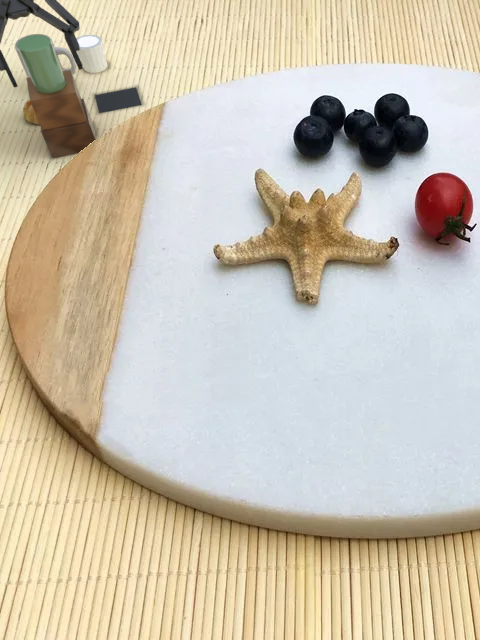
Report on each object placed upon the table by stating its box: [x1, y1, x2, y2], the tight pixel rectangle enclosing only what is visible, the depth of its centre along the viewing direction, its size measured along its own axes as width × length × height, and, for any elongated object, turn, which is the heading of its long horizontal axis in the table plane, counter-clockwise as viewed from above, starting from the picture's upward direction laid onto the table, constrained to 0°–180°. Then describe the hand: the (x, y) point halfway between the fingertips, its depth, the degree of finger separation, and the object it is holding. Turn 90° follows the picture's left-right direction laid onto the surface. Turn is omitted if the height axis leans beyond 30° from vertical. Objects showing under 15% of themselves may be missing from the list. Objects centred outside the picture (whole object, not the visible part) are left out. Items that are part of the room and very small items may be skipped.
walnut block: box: [25, 70, 97, 159], centre depth 148 cm, size 10×10×14 cm
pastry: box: [22, 99, 40, 125], centre depth 157 cm, size 9×7×4 cm
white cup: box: [76, 34, 108, 74], centre depth 169 cm, size 7×7×7 cm
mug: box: [14, 33, 77, 78], centre depth 162 cm, size 12×8×11 cm
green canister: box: [17, 34, 66, 93], centre depth 138 cm, size 6×6×9 cm
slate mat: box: [94, 87, 143, 114], centre depth 163 cm, size 10×8×1 cm
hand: (48, 76), depth 138 cm, fingers open, 13 cm apart
